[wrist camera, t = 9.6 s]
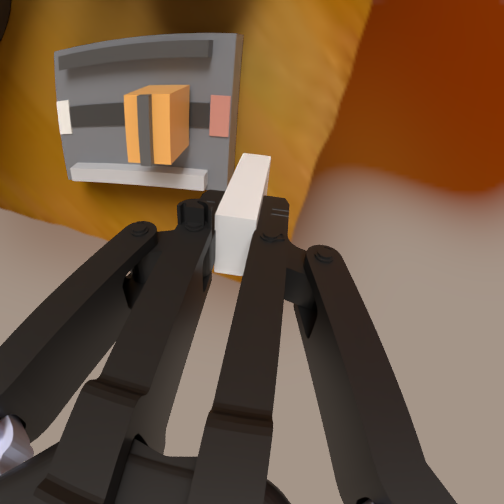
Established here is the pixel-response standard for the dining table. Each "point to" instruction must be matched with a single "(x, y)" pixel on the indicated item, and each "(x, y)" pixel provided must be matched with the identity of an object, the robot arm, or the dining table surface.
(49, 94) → the dining table surface
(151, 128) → the breaker toggle
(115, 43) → the breaker panel
